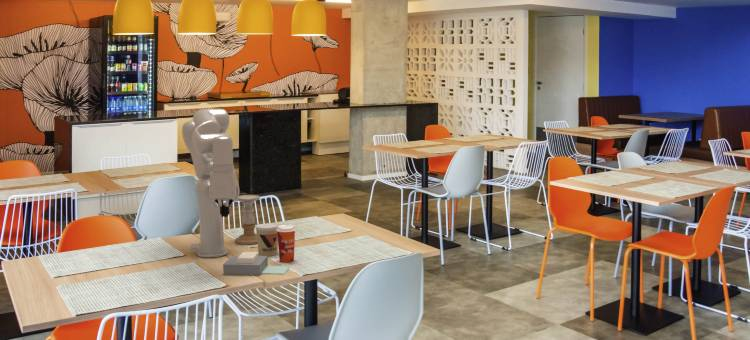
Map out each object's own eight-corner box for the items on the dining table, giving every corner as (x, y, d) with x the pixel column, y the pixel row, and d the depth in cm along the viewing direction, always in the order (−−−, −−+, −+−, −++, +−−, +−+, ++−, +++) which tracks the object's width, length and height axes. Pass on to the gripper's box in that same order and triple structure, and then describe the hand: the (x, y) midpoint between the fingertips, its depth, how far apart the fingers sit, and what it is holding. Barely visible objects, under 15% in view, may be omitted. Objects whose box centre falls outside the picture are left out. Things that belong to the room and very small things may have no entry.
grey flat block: (223, 274, 290) (223, 264, 289) (232, 265, 303) (232, 255, 302) (259, 275, 289) (259, 265, 288) (267, 265, 301) (267, 255, 301)
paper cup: (283, 264, 303) (282, 229, 301) (273, 260, 310) (272, 226, 307) (300, 261, 308) (299, 227, 306) (290, 257, 314) (289, 223, 312)
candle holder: (250, 237, 349) (249, 193, 346) (269, 241, 341) (267, 196, 338) (229, 242, 339) (227, 197, 336) (248, 246, 332) (246, 200, 329)
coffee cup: (259, 257, 314) (258, 229, 312) (254, 252, 322) (253, 224, 320) (281, 255, 317) (281, 226, 315) (276, 250, 326) (275, 222, 324)
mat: (261, 273, 291) (261, 273, 291) (267, 266, 300) (267, 265, 300) (284, 274, 290) (284, 273, 290) (289, 267, 300) (289, 266, 300)
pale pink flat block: (237, 263, 291) (237, 258, 290) (243, 256, 300) (243, 251, 299) (253, 263, 290) (252, 258, 290) (258, 257, 299) (258, 252, 299)
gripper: (200, 170, 287) (202, 218, 290) (240, 170, 286) (241, 218, 289) (206, 167, 295) (208, 214, 297) (245, 167, 293) (246, 214, 296)
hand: (224, 216), depth 293 cm, fingers closed
